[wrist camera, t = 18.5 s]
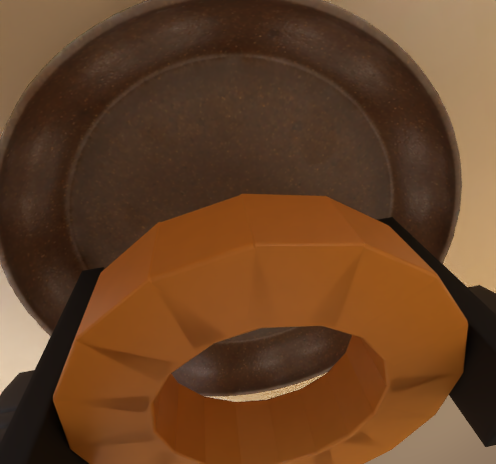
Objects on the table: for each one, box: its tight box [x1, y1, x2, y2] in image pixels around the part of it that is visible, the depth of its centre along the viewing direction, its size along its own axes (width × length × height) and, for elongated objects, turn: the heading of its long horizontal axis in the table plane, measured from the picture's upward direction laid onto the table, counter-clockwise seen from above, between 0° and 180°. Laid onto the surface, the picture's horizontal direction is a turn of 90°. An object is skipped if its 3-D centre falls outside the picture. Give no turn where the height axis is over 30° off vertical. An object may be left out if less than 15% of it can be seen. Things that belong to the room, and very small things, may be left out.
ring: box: [53, 194, 468, 464], centre depth 9 cm, size 10×10×2 cm
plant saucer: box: [0, 0, 462, 396], centre depth 14 cm, size 18×18×3 cm
